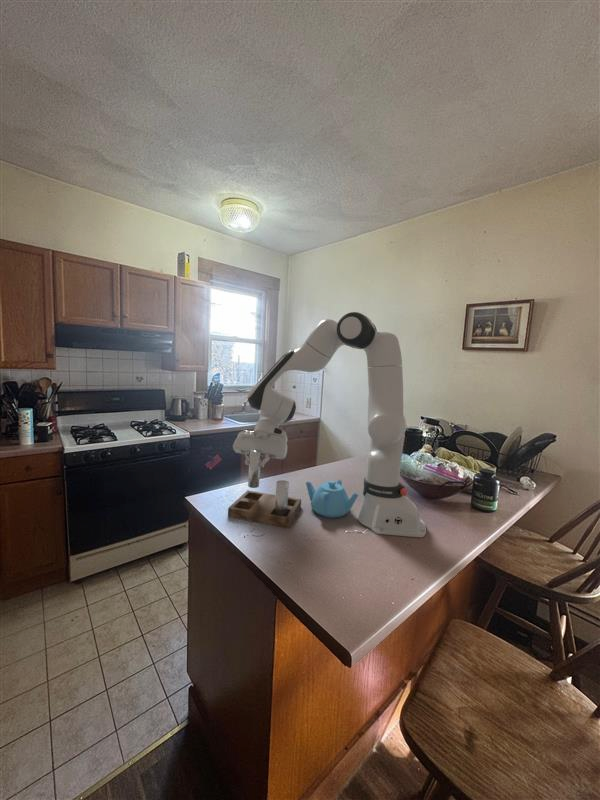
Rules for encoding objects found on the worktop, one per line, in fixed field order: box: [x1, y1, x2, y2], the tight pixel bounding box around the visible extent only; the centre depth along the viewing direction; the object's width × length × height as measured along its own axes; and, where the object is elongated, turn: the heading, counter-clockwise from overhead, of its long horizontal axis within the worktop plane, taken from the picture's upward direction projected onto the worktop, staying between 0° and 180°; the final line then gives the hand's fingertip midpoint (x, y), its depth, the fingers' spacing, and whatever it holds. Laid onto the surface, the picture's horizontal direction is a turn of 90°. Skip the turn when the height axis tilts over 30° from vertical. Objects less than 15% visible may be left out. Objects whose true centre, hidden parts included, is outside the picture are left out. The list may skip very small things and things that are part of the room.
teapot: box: [305, 479, 359, 519], centre depth 116 cm, size 15×15×11 cm
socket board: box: [227, 489, 302, 529], centre depth 111 cm, size 21×16×3 cm
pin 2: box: [275, 479, 290, 517], centre depth 105 cm, size 4×4×13 cm
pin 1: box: [247, 449, 262, 489], centre depth 115 cm, size 4×4×13 cm
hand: (254, 465), depth 115 cm, fingers closed on pin 1, 4 cm apart
